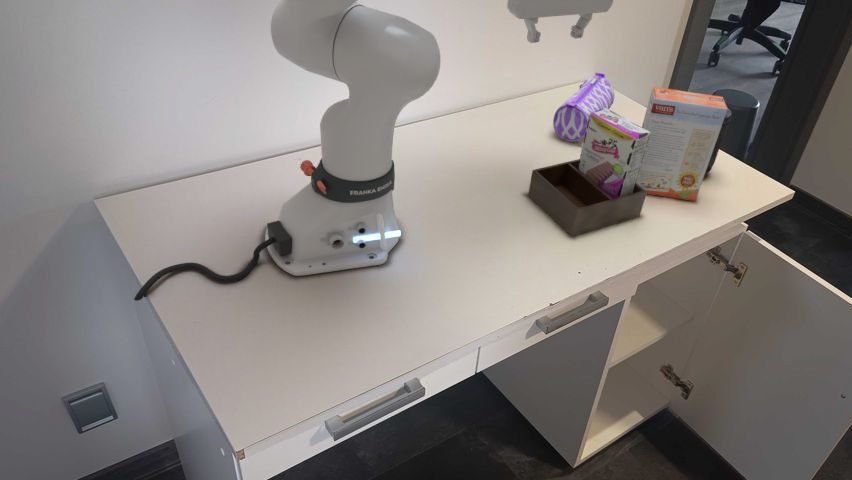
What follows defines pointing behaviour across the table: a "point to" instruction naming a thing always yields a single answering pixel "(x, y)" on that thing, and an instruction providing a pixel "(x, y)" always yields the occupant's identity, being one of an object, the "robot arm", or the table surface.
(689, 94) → the cracker box
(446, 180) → the table surface
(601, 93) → the pencil case
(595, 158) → the candy bar box
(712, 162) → the camera lens
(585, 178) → the divided storage box
